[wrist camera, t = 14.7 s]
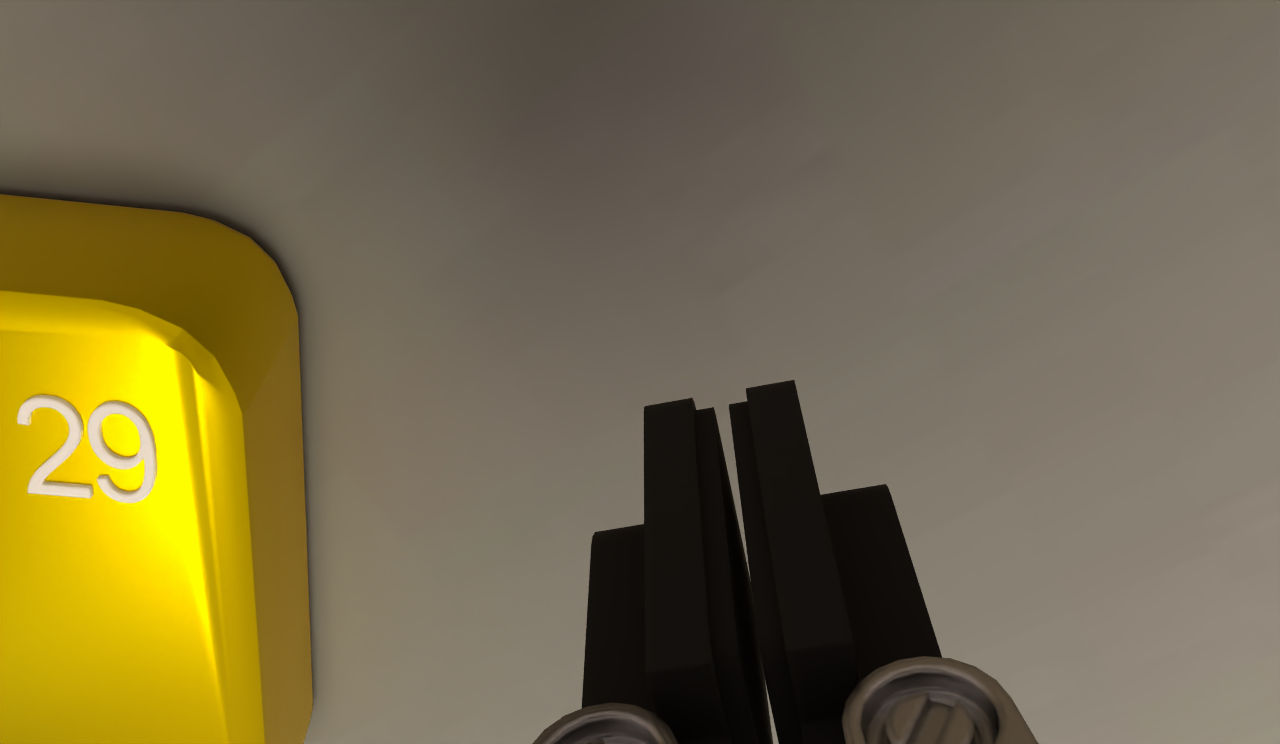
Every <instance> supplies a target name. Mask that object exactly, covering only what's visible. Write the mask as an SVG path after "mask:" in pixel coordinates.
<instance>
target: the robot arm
mask: <svg viewBox="0 0 1280 744" xmlns="http://www.w3.org/2000/svg"><path fill="white" fill-rule="evenodd" d="M746 394H747V400H748V401H746V402H741V403H735V404H729V411H730V419H731V427H732V435H733V443H734V451H735V459H736V467H737V475H738V483H739V491H740V499H741V507H742V515H743V523H744V531H745V539H746V547H747V555H748V563H749V571H750V577H749V572H748V567H747V562H746V557H745V553H744V548H743V543H742V538H741V533H740V529H739V524H738V519H737V514H736V510H735V505H734V500H733V495H732V490H731V486H730V481H729V476H728V471H727V466H726V462H725V457H724V452H723V447H722V443H721V438H720V433H719V428H718V423H717V419H716V414H715V410H714V407H712V408H706V409H701V410H696V407H695V404H694V400H693V398H689V399H683V400H677V401H672V402H666V403H660V404H655V405H649V406H645V407H644V524H642V525H636V526H630V527H624V528H618V529H611V530H605V531H599V532H595V533H594V535H593V537H592V544H591V559H590V576H589V593H588V611H587V628H586V645H585V662H584V679H583V696H582V709H580V710H577V711H575V712H573V713H570V714H568V715H565V716H563V717H562V718H561V719H559V720H558V721H556V722H555V723H554V724H552V725H551V726H549V727H548V728H546V729H545V730H544V731H543V732H542V733H541V734H540V736H539V737H538V738H537V739H536V740H535V741H534V743H533V744H773V739H772V732H771V724H770V716H769V708H768V700H767V692H766V685H767V690H768V695H769V699H770V704H771V709H772V714H773V718H774V723H775V728H776V732H777V737H778V742H779V744H1038V742H1037V741H1036V739H1035V737H1034V735H1033V734H1032V732H1031V730H1030V729H1029V727H1028V725H1027V724H1026V722H1025V720H1024V719H1023V717H1022V715H1021V713H1020V712H1019V710H1018V708H1017V707H1016V705H1015V703H1014V702H1013V700H1012V698H1011V697H1010V696H1009V695H1008V693H1007V692H1006V691H1005V690H1004V689H1003V687H1002V686H1001V685H1000V684H999V683H998V682H997V680H995V679H994V678H992V677H991V676H989V675H988V674H986V673H984V672H983V671H981V670H980V669H978V668H977V667H975V666H972V665H969V664H966V663H963V662H960V661H957V660H954V659H951V658H942V655H941V652H940V649H939V646H938V643H937V640H936V636H935V633H934V630H933V627H932V624H931V621H930V617H929V614H928V611H927V608H926V605H925V602H924V598H923V595H922V592H921V589H920V586H919V582H918V579H917V576H916V573H915V570H914V567H913V563H912V560H911V557H910V554H909V551H908V548H907V544H906V541H905V538H904V535H903V532H902V529H901V525H900V522H899V519H898V516H897V513H896V510H895V506H894V503H893V500H892V497H891V494H890V491H889V489H888V487H887V485H886V484H883V485H877V486H871V487H865V488H859V489H853V490H847V491H841V492H835V493H829V494H823V495H820V492H819V487H818V483H817V478H816V474H815V469H814V465H813V461H812V456H811V452H810V447H809V443H808V438H807V434H806V430H805V425H804V421H803V416H802V412H801V408H800V403H799V399H798V394H797V390H796V385H795V381H794V380H791V381H785V382H779V383H774V384H768V385H762V386H757V387H751V388H746ZM750 579H751V581H750ZM765 681H766V684H765Z"/></svg>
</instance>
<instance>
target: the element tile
mask: <svg viewBox="0 0 1280 744" xmlns="http://www.w3.org/2000/svg"><path fill="white" fill-rule="evenodd" d="M312 709H313V692H312V666H311V640H310V614H309V588H308V562H307V536H306V510H305V484H304V458H303V432H302V406H301V380H300V354H299V328H298V314H297V311H296V308H295V304H294V301H293V297H292V294H291V292H290V290H289V288H288V286H287V284H286V282H285V280H284V278H283V276H282V274H281V272H280V270H279V268H278V266H277V264H276V262H275V261H274V260H273V259H272V258H271V257H270V256H269V255H268V254H267V253H266V252H265V251H264V250H262V249H261V248H260V247H259V246H258V245H257V244H256V243H255V242H254V241H253V240H252V239H251V238H250V237H248V236H246V235H244V234H242V233H240V232H238V231H236V230H233V229H231V228H229V227H227V226H225V225H223V224H221V223H219V222H217V221H215V220H211V219H207V218H203V217H199V216H195V215H191V214H187V213H183V212H174V211H164V210H154V209H144V208H134V207H124V206H114V205H104V204H94V203H84V202H74V201H64V200H54V199H44V198H34V197H24V196H14V195H5V194H0V744H303V743H304V739H305V736H306V733H307V730H308V727H309V723H310V718H311V713H312Z"/></svg>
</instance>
